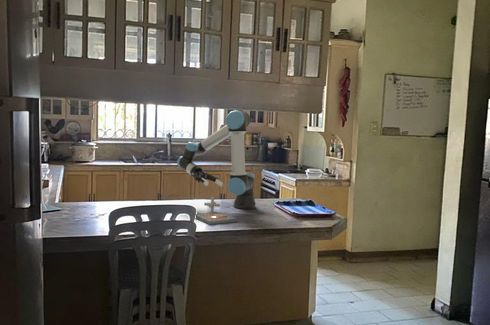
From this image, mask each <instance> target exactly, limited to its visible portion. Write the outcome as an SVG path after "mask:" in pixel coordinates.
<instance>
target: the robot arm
mask: <svg viewBox="0 0 490 325" xmlns="http://www.w3.org/2000/svg"><path fill="white" fill-rule="evenodd" d="M250 124H251V116H250V115H249V113H248V112H246V111H244V110H232V111H230V112H229V113H228V114H227V115H226V117H225V125H224V126H222V127H221V128H219V129H218V130H216V131H215V132H213V133H211V135H209V136H207V137H206V138H205V139H202V140H201V141H200V142H199V143H196V142H194V141H188V142H187V144H186V145H185V149H184V152H183V155H182V156H179V158H178V159H176V164H177V166H178V167H179V168H180V169H181V170H183V171H185V172H186V173H187V174H189V175H190V176H192V177H193V178H194V180H195V181H197V182H198V183H201V184H203V185H204V186H206V187H208V186H209V184H210V181H212V182H214V184H216V185H218V186H219V187H220V188H223V186H224V182H222V181H220V178H218V177H216V176H214V175H212V174H210V173H208V172H204V171H203V168H202V167H200V166H198V164H196V163H194V162H193V161H194V159H195V157H196V156H197V157H198V156H202V155H205V154H206V152H208V151H209V150H210V149H212V148H214V147H215V146H216V145H219V143H221V142H223V141H224V140H226V139H227V138H228V137H230V156H231V172H230V173H229V180H228V182H227V190H228V192H229V193H230V194H232V195H233V196H235V198H234V201H233V205H232V206H233V207H234V208H236V209H244V210H246V209H247V210H248V209H249V210H251V209H255V208H257V205H256V200H255V196H254V195H255V194H254V192H255V174H254V173H247V172H246V165H245V164H246V160H245V159H246V156H245V155H246V154H245V151H246V150H245V134H246V133H247V127H249V125H250ZM208 180H209V181H208Z"/></svg>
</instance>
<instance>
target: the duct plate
mask: <svg viewBox="0 0 490 325" xmlns="http://www.w3.org/2000/svg"><path fill="white" fill-rule="evenodd" d="M195 215H196V218H195V219H196V220H198V221H200V222H202V221H203V222H202V223H205V224H207V225H209V226H212V225H220V224H229V223H230V224H231V223H237V221H238V218H236V217H234V216H231V215H228V214H226V213H224V212H214V213H211V212H208V213H200V214H199V213H197V214H195Z"/></svg>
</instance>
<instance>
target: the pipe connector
mask: <svg viewBox="0 0 490 325" xmlns="http://www.w3.org/2000/svg"><path fill="white" fill-rule="evenodd" d="M204 206H205V207H206V206H208V208H210V213H215V210H214V208H215V207H216V208H217V207H218V208H220V207H221V203H217V202H216V201H215V196H210V202H204Z"/></svg>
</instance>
